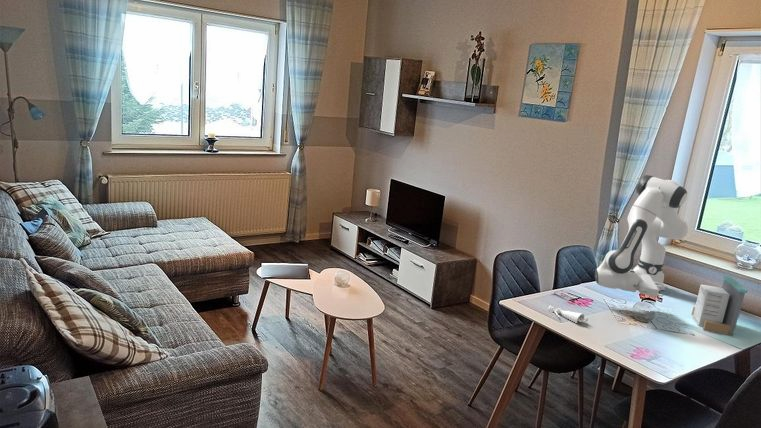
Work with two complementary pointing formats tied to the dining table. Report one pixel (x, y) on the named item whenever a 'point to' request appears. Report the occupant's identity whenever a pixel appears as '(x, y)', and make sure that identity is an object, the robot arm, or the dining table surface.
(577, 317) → the woman figurine
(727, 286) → the display stand
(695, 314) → the supplement box
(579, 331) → the dining table surface
